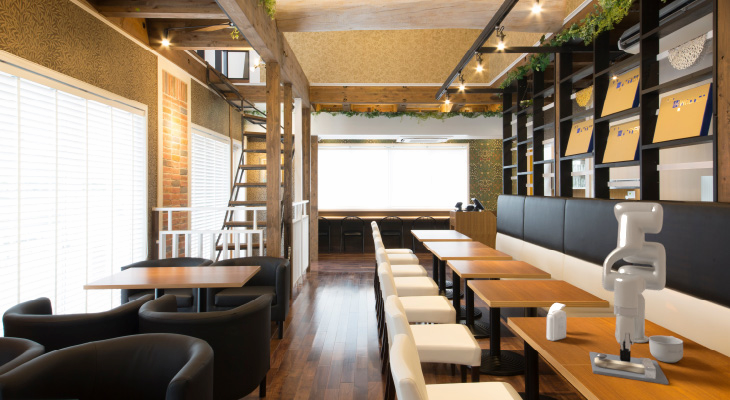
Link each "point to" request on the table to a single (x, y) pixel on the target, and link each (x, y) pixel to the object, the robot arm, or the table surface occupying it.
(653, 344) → the teacup
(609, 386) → the table surface
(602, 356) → the link
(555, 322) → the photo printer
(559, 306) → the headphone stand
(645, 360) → the keeper
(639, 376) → the slate board
